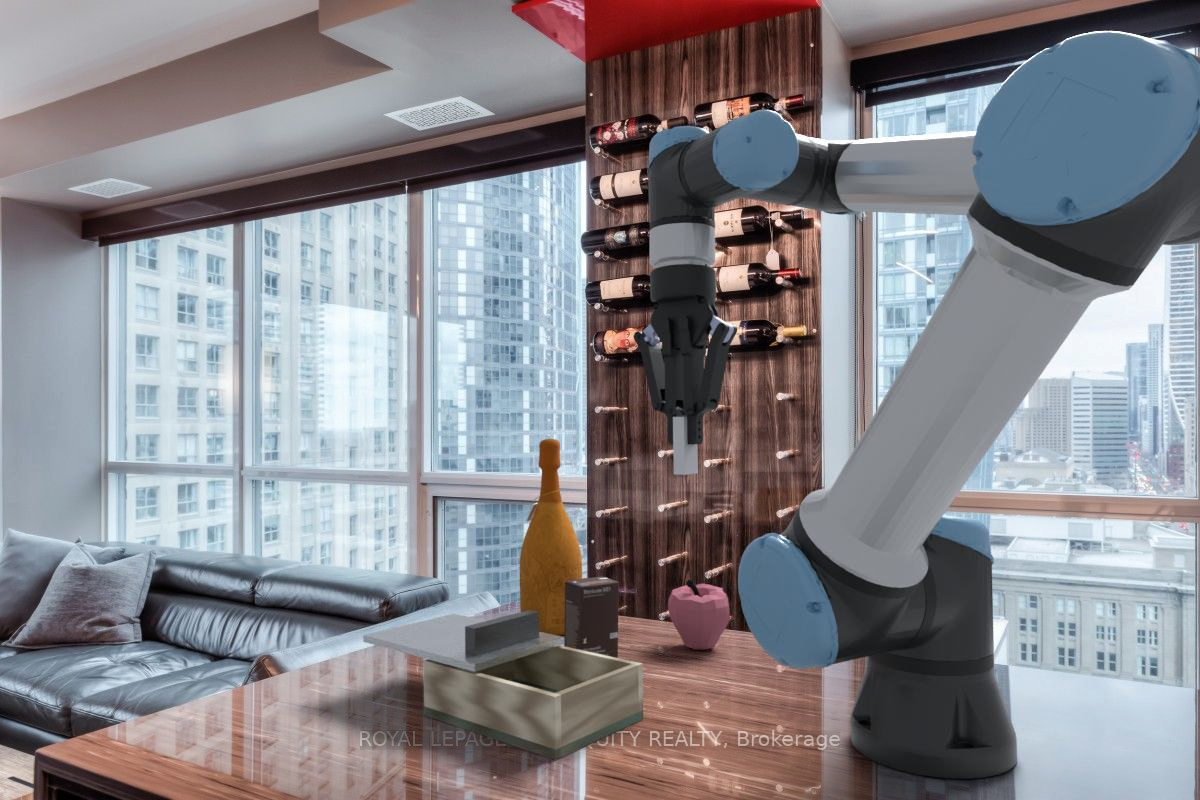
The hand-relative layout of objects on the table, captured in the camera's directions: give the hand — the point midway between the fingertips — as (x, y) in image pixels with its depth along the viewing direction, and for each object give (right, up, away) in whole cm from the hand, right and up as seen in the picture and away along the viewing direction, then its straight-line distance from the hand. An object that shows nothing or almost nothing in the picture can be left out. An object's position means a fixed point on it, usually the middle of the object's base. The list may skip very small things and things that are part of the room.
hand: (685, 473), depth 94 cm
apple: (+4, -27, +24) cm, 37 cm away
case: (-17, -27, -3) cm, 32 cm away
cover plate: (-26, -21, +4) cm, 34 cm away
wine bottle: (-17, -28, +35) cm, 48 cm away
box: (-11, -27, +12) cm, 32 cm away
